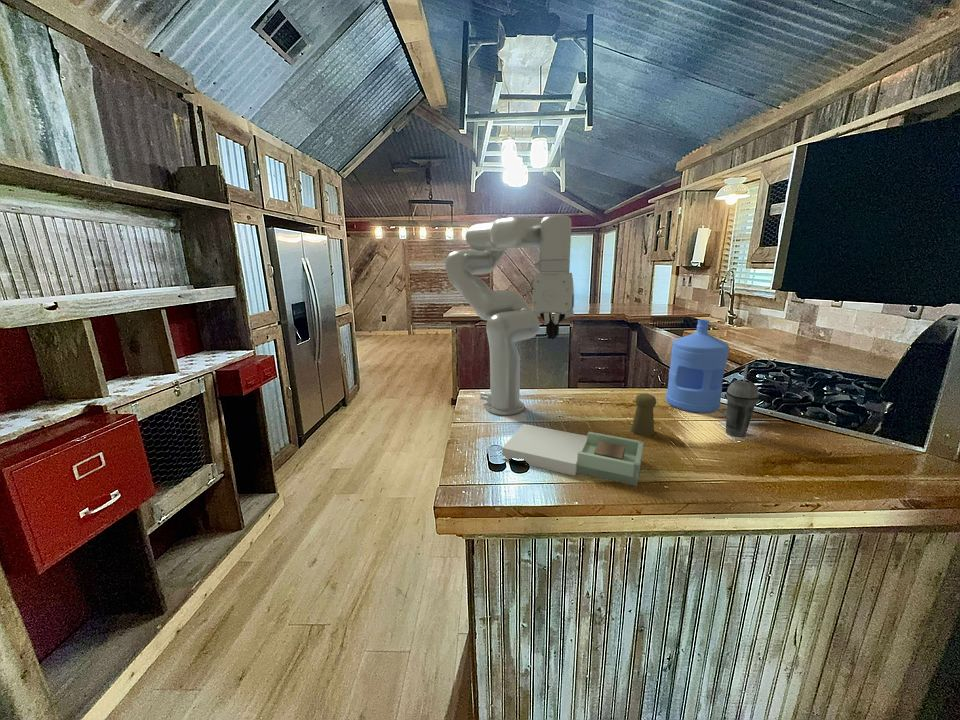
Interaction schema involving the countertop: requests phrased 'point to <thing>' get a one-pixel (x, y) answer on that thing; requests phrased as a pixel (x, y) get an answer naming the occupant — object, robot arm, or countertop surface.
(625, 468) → the box
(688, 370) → the water jug
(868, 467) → the countertop surface
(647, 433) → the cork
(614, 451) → the walnut tile
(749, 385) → the beverage cup
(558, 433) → the white flat slab
